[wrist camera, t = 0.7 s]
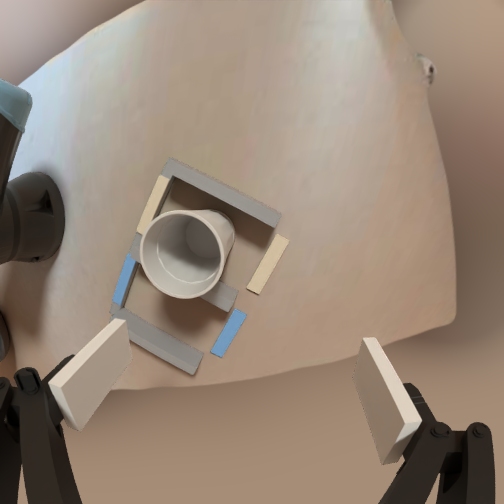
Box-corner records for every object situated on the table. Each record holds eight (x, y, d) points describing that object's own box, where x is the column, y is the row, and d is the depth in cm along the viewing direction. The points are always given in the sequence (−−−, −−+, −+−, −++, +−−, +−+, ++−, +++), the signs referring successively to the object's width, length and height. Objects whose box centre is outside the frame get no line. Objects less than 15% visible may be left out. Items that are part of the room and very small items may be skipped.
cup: (238, 268, 37) (220, 305, 25) (179, 260, 38) (139, 291, 26) (245, 206, 35) (228, 215, 24) (183, 199, 36) (141, 206, 24)
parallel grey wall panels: (113, 309, 40) (100, 320, 37) (172, 157, 35) (160, 154, 31) (215, 367, 41) (209, 383, 37) (299, 222, 35) (301, 227, 31)
